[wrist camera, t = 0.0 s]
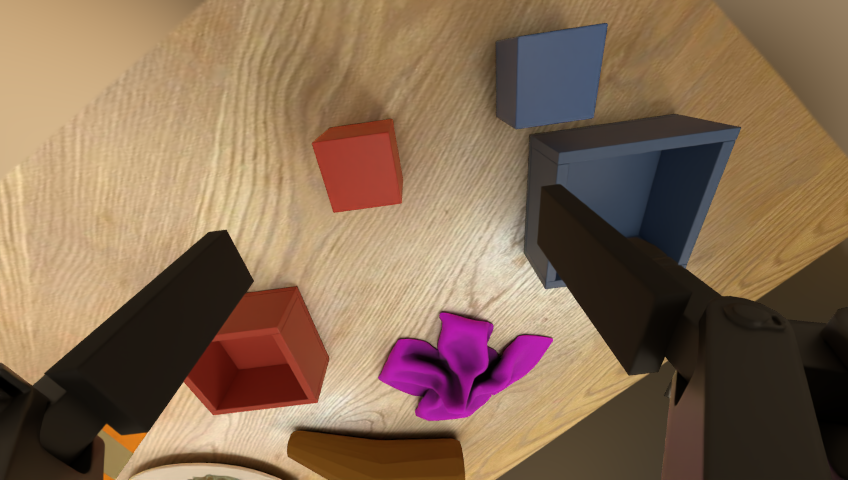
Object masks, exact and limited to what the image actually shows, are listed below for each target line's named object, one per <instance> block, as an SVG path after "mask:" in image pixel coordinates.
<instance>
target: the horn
mask: <svg viewBox="0 0 848 480" xmlns="http://www.w3.org/2000/svg"><path fill="white" fill-rule="evenodd" d="M287 455H288V457H290V458H291V459H293V460H295V461H296V462H298V463H300V464H302V465H303V466H305V467H307V468H309V469H310V470H312V471H314V472H315V473H317V474H319V475H321V476H322V477H324V478H326V479H328V480H465V469H464V459H463V453H462V447H461V444H460V441H458V440H455V439H452V438H446V439H410V440H372V439H364V438H357V437H349V436H342V435H334V434H326V433H319V432H311V431H303V430H301V431H294V432H293V433H292V434H291V436H290V438H289V441H288V446H287Z"/></svg>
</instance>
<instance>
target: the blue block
mask: <svg viewBox="0 0 848 480" xmlns="http://www.w3.org/2000/svg"><path fill="white" fill-rule="evenodd" d="M607 25H608V24H607V23H602V24H596V25H589V26H583V27H576V28H569V29H563V30H556V31H550V32H543V33H537V34H530V35H524V36H518V37H513V38H508V39H504V40H499V41H496V116H497V117H498V118H499V119H501V120H502V121H504V122H505V123H507V124H508V125H510V126H512V127H513V128H515V129H522V128H529V127H536V126H543V125H550V124H557V123H564V122H571V121H578V120H585V119H592V118H593V117H594V112H595V105H596V98H597V92H598V85H599V78H600V72H601V65H602V58H603V52H604V45H605V39H606V32H607Z"/></svg>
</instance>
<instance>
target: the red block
mask: <svg viewBox="0 0 848 480" xmlns="http://www.w3.org/2000/svg"><path fill="white" fill-rule="evenodd" d="M312 146H313V149H314V152H315V155H316V158H317V161H318V165H319V168H320V171H321V174H322V177H323V180H324V184H325V187H326V190H327V193H328V196H329V200H330V203H331V206H332V209H333V212H334V213H335V212H343V211H350V210H357V209H364V208H372V207H379V206H386V205H393V204H401V203H402V190H403V176H402V171H401V165H400V159H399V153H398V147H397V142H396V136H395V130H394V124H393V119H386V120H379V121H372V122H366V123H359V124H352V125H345V126H338V127H331V128H329V129H328V130H326V131H325V132H324V133H323V134H322V135H321V136H319V137H318V138H317V139H316V140H315V141H314V142H312Z"/></svg>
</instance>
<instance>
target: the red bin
mask: <svg viewBox="0 0 848 480" xmlns="http://www.w3.org/2000/svg"><path fill="white" fill-rule="evenodd" d="M328 362H329V357H328V354H327V352H326V350H325V348H324V346H323V343H322V341H321V339H320V337H319V334H318V332H317V330H316V328H315V325H314V323H313V321H312V319H311V317H310V314H309V312H308V310H307V308H306V305H305V303H304V301H303V299H302V296H301V294H300V292H299V290H298V287H297V286H296V287H289V288H281V289H273V290H266V291H258V292H250V293H245V295H244V296H243V297H242V299H241V300H240V302H239V303H238V305H237V306H236V307H235V309H234V310H233V312H232V313H231V315H230V316H229V317H228V319H227V320H226V322H225V323H224V325H223V326H222V327H221V329H220V330H219V332H218V333H217V335H216V336H215V337H214V339H213V340H212V342H211V343H210V345H209V346H208V347H207V349H206V350H205V352H204V353H203V355H202V356H201V357H200V359H199V360H198V362H197V363H196V365H195V366H194V367H193V369H192V370H191V372H190V373H189V375H188V376H187V377H186V379H185V380H184V383H185V384H186V385H187V386H188V387H189V388H190V390H191V391H192V392H193V393H194V394H195V395H196V396H197V397H198V399H199V400H200V401H201V402H202V403H203V404H204V405H205V406H206V408H207V409H208V410H209V411H210V412H211V413H212V414H213V415H218V414H227V413H235V412H244V411H252V410H260V409H269V408H277V407H286V406H294V405H302V404H311V403H318V399H319V396H320V392H321V388H322V384H323V381H324V377H325V373H326V369H327V366H328Z"/></svg>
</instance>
